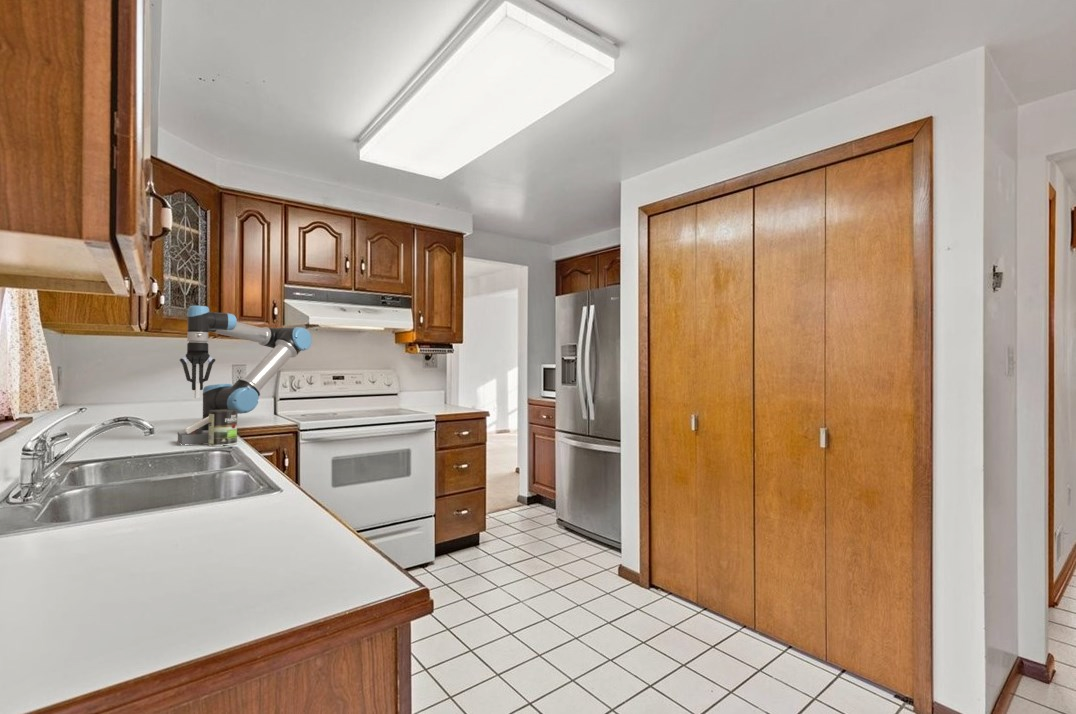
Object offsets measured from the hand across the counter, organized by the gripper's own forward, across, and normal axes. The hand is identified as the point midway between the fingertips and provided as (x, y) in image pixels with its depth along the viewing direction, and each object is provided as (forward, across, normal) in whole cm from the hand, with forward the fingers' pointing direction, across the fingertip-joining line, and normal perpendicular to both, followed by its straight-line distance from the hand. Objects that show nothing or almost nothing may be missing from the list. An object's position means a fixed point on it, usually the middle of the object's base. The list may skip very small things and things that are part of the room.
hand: (197, 397), depth 222 cm
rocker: (+11, 0, -6) cm, 12 cm away
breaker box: (+18, 0, -3) cm, 19 cm away
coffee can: (+19, +7, -16) cm, 25 cm away
